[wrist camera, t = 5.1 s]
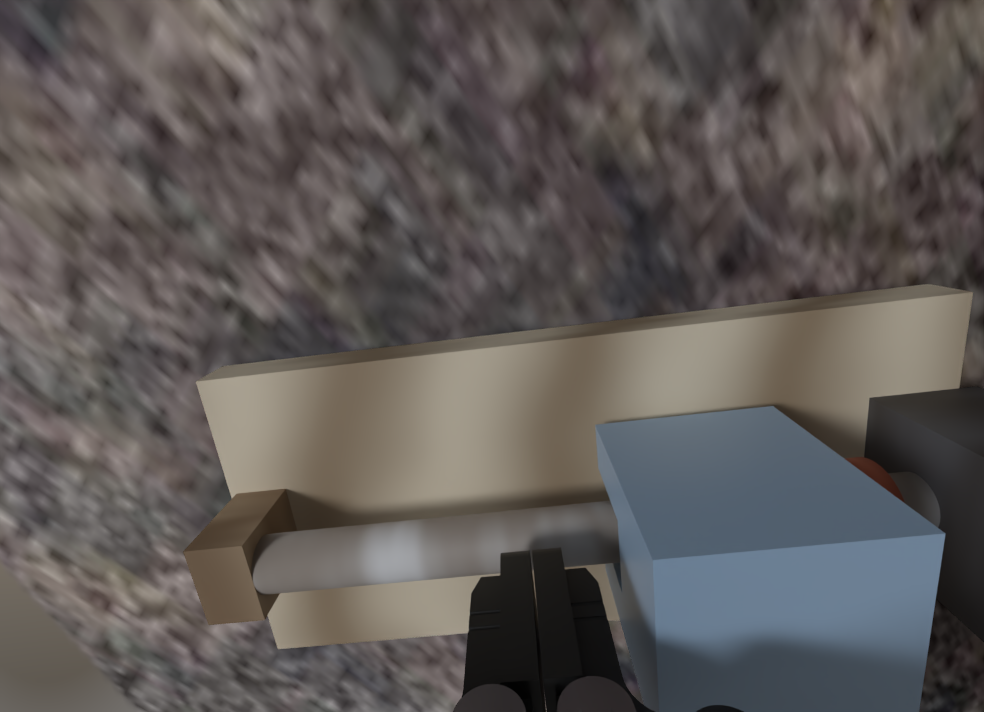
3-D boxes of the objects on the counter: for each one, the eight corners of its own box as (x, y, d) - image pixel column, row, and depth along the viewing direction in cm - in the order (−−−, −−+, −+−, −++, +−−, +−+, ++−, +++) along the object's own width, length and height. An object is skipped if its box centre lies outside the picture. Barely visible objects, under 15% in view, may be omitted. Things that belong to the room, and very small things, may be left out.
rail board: (945, 281, 15) (1306, 343, 8) (910, 561, 18) (1158, 778, 11) (222, 366, 16) (24, 480, 10) (294, 615, 19) (180, 841, 12)
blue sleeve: (772, 405, 14) (945, 533, 9) (767, 555, 16) (913, 746, 10) (595, 424, 15) (652, 560, 9) (605, 569, 16) (660, 763, 10)
